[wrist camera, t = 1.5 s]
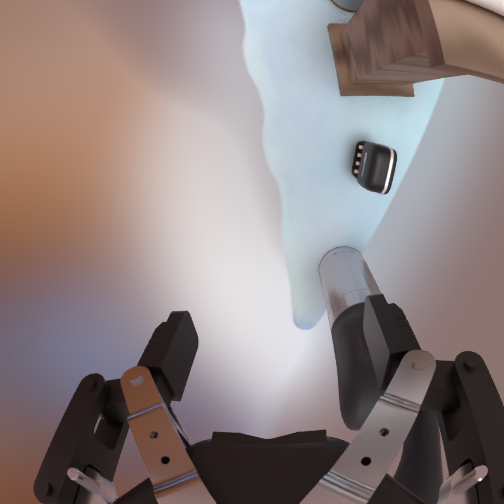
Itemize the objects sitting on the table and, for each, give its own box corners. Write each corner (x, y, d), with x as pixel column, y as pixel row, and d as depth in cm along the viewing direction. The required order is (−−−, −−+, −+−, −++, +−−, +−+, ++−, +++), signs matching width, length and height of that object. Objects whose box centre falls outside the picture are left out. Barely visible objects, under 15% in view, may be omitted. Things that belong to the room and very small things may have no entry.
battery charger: (353, 137, 42) (374, 142, 32) (374, 142, 42) (400, 150, 32) (345, 176, 45) (364, 193, 35) (366, 180, 45) (389, 198, 35)
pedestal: (410, 96, 37) (552, 97, 9) (340, 96, 39) (444, 63, 11) (397, 30, 32) (513, -32, 3) (327, 26, 34) (389, -83, 5)
